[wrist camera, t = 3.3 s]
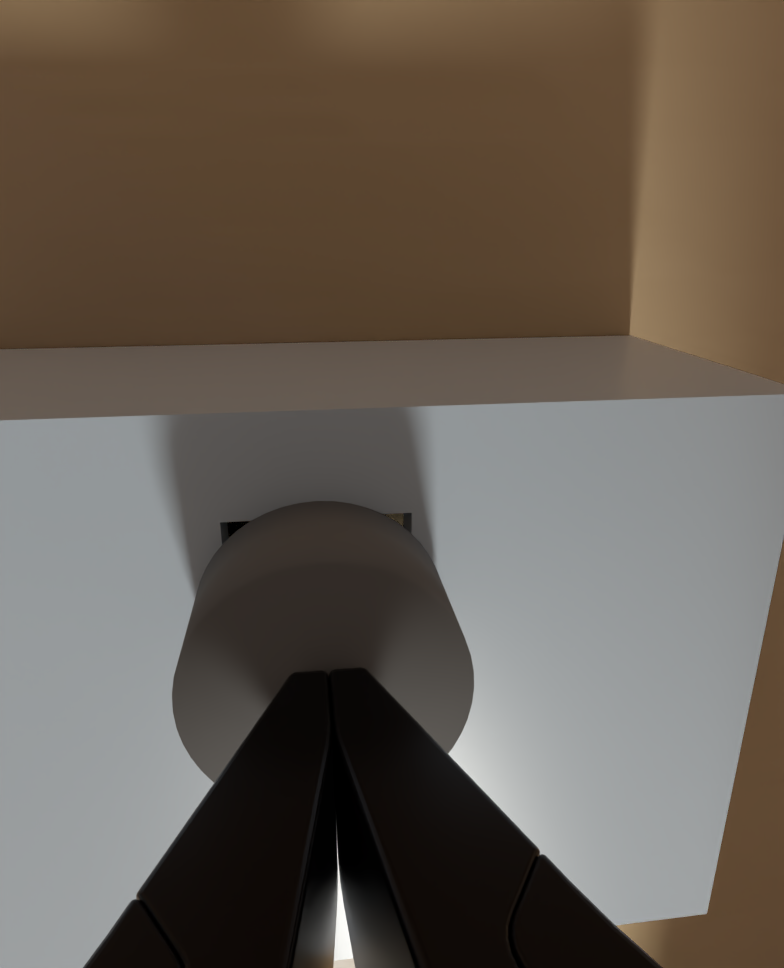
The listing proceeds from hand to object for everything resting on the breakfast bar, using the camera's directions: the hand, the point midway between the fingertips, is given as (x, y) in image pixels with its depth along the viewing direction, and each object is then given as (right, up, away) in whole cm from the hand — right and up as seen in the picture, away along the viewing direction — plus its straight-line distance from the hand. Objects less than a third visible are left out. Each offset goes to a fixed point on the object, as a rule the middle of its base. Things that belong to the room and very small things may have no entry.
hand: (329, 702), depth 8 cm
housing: (-1, +1, +8) cm, 8 cm away
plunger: (-1, +2, +5) cm, 6 cm away
